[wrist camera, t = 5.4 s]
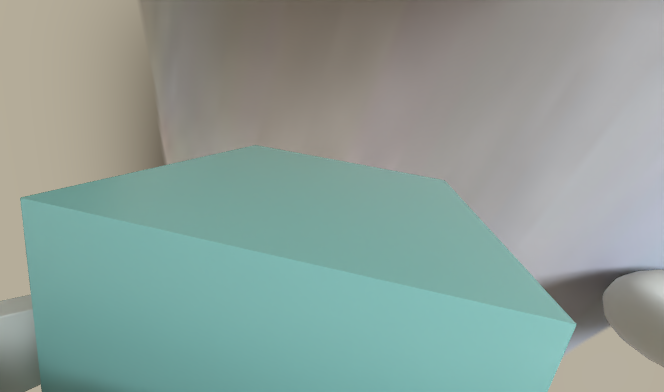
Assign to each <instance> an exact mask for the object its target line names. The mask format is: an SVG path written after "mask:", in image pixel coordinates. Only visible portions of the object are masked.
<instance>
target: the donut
mask: <svg viewBox="0 0 664 392" xmlns="http://www.w3.org/2000/svg"><path fill="white" fill-rule="evenodd" d="M602 299H603V307H604V314H605V317H606V319H607V321H608V323H609V324H610V325H611V326H612V328H613V329H614V330H615V331H616V332H617V334H618V335H619V336H620V337H621V338H622V339H623V340H624V341H625V342H626V343H628V344H629V345H630V346H632V347H633V348H634V349H636V350H637V351H638V352H640V353H641V354H642V355H644V356H645V357H647V358H648V359H649V360H651V361H653V362H655V363H657V364H659V365H661V366H663V367H664V270H647V271H636V272H633V273H630V274H627V275H623V276H621V277H618V278H616V279H615V280H614V281H613V282H612V283H611V284H610V285H609V287H608V288H607V289H606V290H605V291H604V294H603V297H602Z"/></svg>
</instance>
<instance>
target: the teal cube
mask: <svg viewBox="0 0 664 392" xmlns="http://www.w3.org/2000/svg"><path fill="white" fill-rule="evenodd" d="M20 200H21V209H22V217H23V227H24V236H25V245H26V254H27V263H28V272H29V280H30V290H31V299H32V308H33V317H34V326H35V335H36V344H37V353H38V362H39V371H40V380H41V389H42V392H547V391H548V389H549V387H550V385H551V382H552V380H553V378H554V375H555V373H556V371H557V368H558V366H559V364H560V362H561V359H562V357H563V355H564V352H565V350H566V348H567V345H568V343H569V341H570V339H571V336H572V334H573V332H574V329H575V327H576V325H577V324H576V323H575V322H574V321H573V320H572V319H571V318H570V317H569V315H568V314H567V313H566V312H565V311H564V310H563V309H562V308H561V307H560V306H559V305H558V303H557V302H556V301H555V300H554V299H553V298H552V297H551V296H550V295H549V294H548V293H547V292H546V290H545V289H544V288H543V287H542V286H541V285H540V284H539V283H538V282H537V281H536V280H535V278H534V277H533V276H532V275H531V274H530V273H529V272H528V271H527V270H526V269H525V268H524V266H523V265H522V264H521V263H520V262H519V261H518V260H517V259H516V258H515V257H514V256H513V254H512V253H511V252H510V251H509V250H508V249H507V248H506V247H505V246H504V245H503V244H502V242H501V241H500V240H499V239H498V238H497V237H496V236H495V235H494V234H493V233H492V232H491V230H490V229H489V228H488V227H487V226H486V225H485V224H484V223H483V222H482V221H481V220H480V218H479V217H478V216H477V215H476V214H475V213H474V212H473V211H472V210H471V209H470V208H469V206H468V205H467V204H466V203H465V202H464V201H463V200H462V199H461V198H460V197H459V196H458V194H457V193H456V192H455V191H454V190H453V189H452V188H451V187H450V186H449V185H448V184H447V182H446V181H445V180H440V179H435V178H429V177H424V176H419V175H413V174H408V173H403V172H397V171H392V170H386V169H381V168H376V167H370V166H365V165H360V164H354V163H349V162H344V161H338V160H333V159H328V158H322V157H317V156H311V155H306V154H301V153H295V152H290V151H285V150H279V149H274V148H269V147H263V146H258V145H254V146H249V147H245V148H240V149H236V150H231V151H227V152H222V153H218V154H213V155H209V156H205V157H200V158H196V159H191V160H187V161H182V162H178V163H173V164H169V165H164V166H160V167H156V168H151V169H146V170H142V171H137V172H133V173H128V174H125V175H119V176H115V177H111V178H106V179H102V180H97V181H93V182H88V183H84V184H79V185H75V186H70V187H66V188H61V189H57V190H52V191H48V192H43V193H39V194H35V195H30V196H25V197H21V198H20Z"/></svg>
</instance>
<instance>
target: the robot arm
mask: <svg viewBox="0 0 664 392" xmlns="http://www.w3.org/2000/svg"><path fill="white" fill-rule="evenodd" d="M40 384H41V380H40V371H39V362H38V353H37V344H36V335H35V326H34V317H33V308H32V299H31V295H27V296H22V297H17V298H12V299H8V300H2V301H0V392H25V391H27V390H29V389H32V388H34V387H36V386H38V385H40Z"/></svg>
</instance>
